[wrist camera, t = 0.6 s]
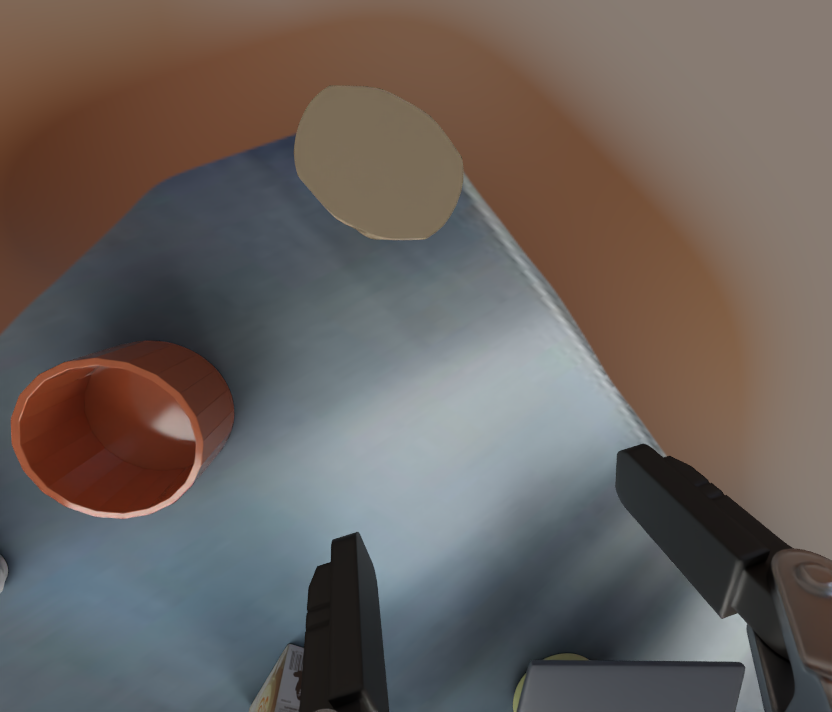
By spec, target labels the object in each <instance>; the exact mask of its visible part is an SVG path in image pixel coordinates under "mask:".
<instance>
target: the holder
mask: <svg viewBox="0 0 832 712" xmlns="http://www.w3.org/2000/svg"><path fill="white" fill-rule="evenodd" d="M233 423H234V404H233V399H232V395H231V393H230V390H229V388H228V386H227V384H226V382H225V380H224V379H223V377H222V376H221V374H220V373H219V372H218V371H217V370H216V368H215V367H214V366H213V365H212V364H210V363H209V362H208V361H207V360H206V359H204V358H203V357H202V356H200V355H199V354H197V353H195V352H193V351H192V350H190V349H188V348H185V347H183V346H180V345H177V344H173V343H170V342H164V341H153V340H146V341H136V342H132V343H126V344H121V345H118V346H115V347H111V348H108V349H105V350H102V351H99V352H95V353H92V354H89V355H86V356H83V357H79V358H76V359H73V360H70V361H66V362H63V363H61V364H59V365H57V366H55V367H53V368H51V369H49V370H47V371H45V372H43V373H41V374H39V375H38V376H37V377H36V378H35V379H34V380H33V381H32V382H31V383H30V384H29V385H28V386H27V387H26V389H25V390H24V391H23V392H22V393H21V394H20V395H19V398H18V400H17V403H16V406H15V409H14V411H13V414H12V417H11V437H12V447H13V449H14V451H15V453H16V456H17V458H18V460H19V462H20V465H21V467H22V469H23V471H24V472H25V473H26V474H27V475H28V476H29V477H30V479H31V480H32V481H33V482H34V483H35V484H36V485H37V486H38V487H39V489H40V490H41V491H42V492H43V493H45V494H47V495H48V496H50V497H51V498H53V499H54V500H56V501H58V502H59V503H61V504H62V505H64V506H65V507H68V508H70V509H73V510H76V511H79V512H82V513H85V514H88V515H91V516H95V517H105V518H118V519H126V518H132V517H138V516H143V515H149V514H152V513H154V512H156V511H159V510H161V509H163V508H165V507H167V506H169V505H171V504H173V503H174V502H176V501H177V500H178V499H179V498H180V497H181V496H182V495H183V494H184V493H185V492H186V491H187V490H188V489H189V488H190V487H191V486H192V485H193V484H194V483H195V481H196V480H197V479H198V478H199V476H200V475H201V474H202V473H203V472H204V470H205V469H206V468H207V467H208V466H209V464H210V463H211V462H212V461H213V459H214V458H215V457H216V456H217V455H218V453H219V452H220V451H221V450H222V448H223V447H224V445H225V443H226V441H227V440H228V438H229V436H230V433H231V431H232V427H233Z"/></svg>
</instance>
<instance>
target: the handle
mask: <svg viewBox="0 0 832 712" xmlns="http://www.w3.org/2000/svg"><path fill="white" fill-rule="evenodd" d="M294 158H295V166H296V170H297V174H298V176H299V178H300V179H301V180H302V181H303V182H304V184H305V185H306V186H307V187H308V188H309V190H310V191H311V192H312V193H313V194H314V195H315V197H316V198H317V199H318V200H319V201H320V202H321V203H322V205H323V206H324V207H325V208H326V209H327V210H328V211H329V212H330V213H331V214H332V215H333V216H334V217H335V218H336V219H338V220H339V221H341V222H343V223H344V224H346V225H348V226H351V227H353V228H355V229H357V230H358V231H359V232H360V233H361V234H363V235H365V236H366V237H369V238H372V239H386V240H420V239H426V238H428V237H429V236H431V235H433V234H434V233H436V232H437V231H438V230H439V229H440V228H441V227H442V226H443V225H444V224H445V223H446V221H447V220H448V219H449V217H450V216H451V214H452V212H453V210H454V208H455V206H456V204H457V201H458V199H459V196H460V193H461V189H462V183H463V162H462V157H461V155H460V154H459V153H458V151H457V150H456V148H455V147H454V145H453V144H452V143H451V141H450V140H449V138H448V137H447V135H446V134H445V133H444V131H443V130H442V129H441V127H440V126H439V125H438V124H437V123H436V122H435V121H434V120H433V118H432V117H431V116H429V115H428V114H426V113H425V112H424V111H422V110H421V109H419V108H418V107H416V106H414V105H412V104H411V103H409V102H407V101H405V100H403V99H402V98H400V97H398V96H396V95H394V94H392V93H390V92H387V91H385V90H383V89H379V88H373V87H364V86H328V87H327V88H325V89H324V90H323V91H321V92H320V93H319V94H318V95H317V96H316V97H315V98H314V99H313V100H312V101H311V103H310V104H309V105H308V107H307V108H306V110H305V112H304V114H303V116H302V119H301V121H300V123H299V127H298V130H297V134H296V138H295V147H294Z"/></svg>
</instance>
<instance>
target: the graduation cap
mask: <svg viewBox="0 0 832 712" xmlns="http://www.w3.org/2000/svg"><path fill="white" fill-rule="evenodd" d="M744 672H745V666H744V665H743V664H742V663H740V662H701V661H604V660H588V659H587V658H585V657H583V656H580V655H577V654H570V653H564V654H557V655H553V656H550V657H547V658H545V659H543V660H531V661H530V662H529V665H528V668H527V672H526V674H525V675H524V676H523V677H522V679H521V680H520V682H519V684H518V686H517V688H516V691H515V694H514V699H513V711H514V712H735V710H736V706H737V702H738V698H739V694H740V689H741V685H742V681H743V677H744Z"/></svg>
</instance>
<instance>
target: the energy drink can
mask: <svg viewBox="0 0 832 712" xmlns="http://www.w3.org/2000/svg"><path fill="white" fill-rule="evenodd" d="M7 575H8V567H7V564H6V562H5V560H4V558H3V557H2V556H1V555H0V593H1V592H2V590H3V587H4V583H5V580H6V578H7Z"/></svg>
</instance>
